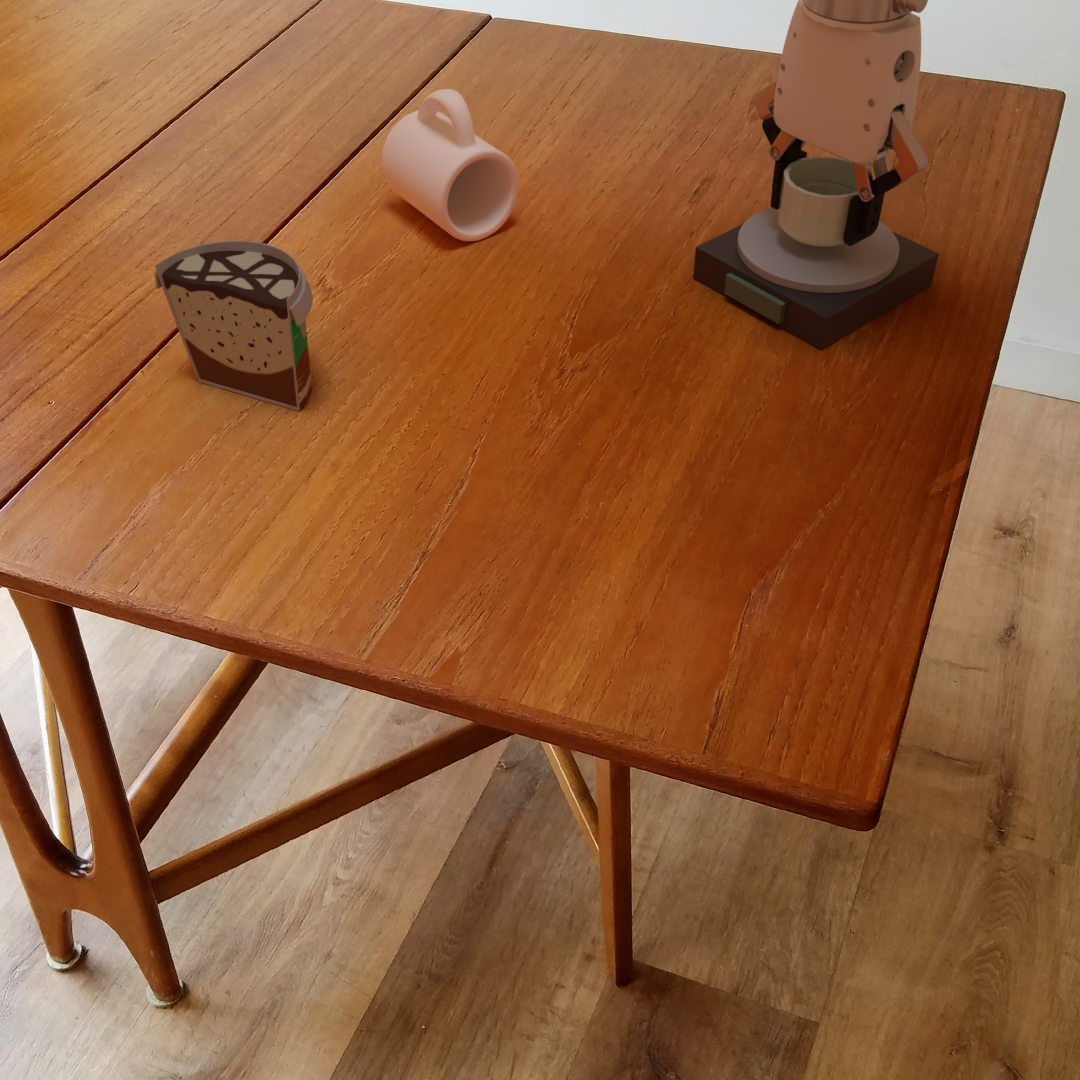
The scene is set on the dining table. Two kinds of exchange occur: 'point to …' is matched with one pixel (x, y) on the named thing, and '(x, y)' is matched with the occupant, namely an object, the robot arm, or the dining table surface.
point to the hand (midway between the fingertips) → (821, 219)
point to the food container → (242, 318)
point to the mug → (450, 169)
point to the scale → (813, 276)
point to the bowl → (817, 199)
